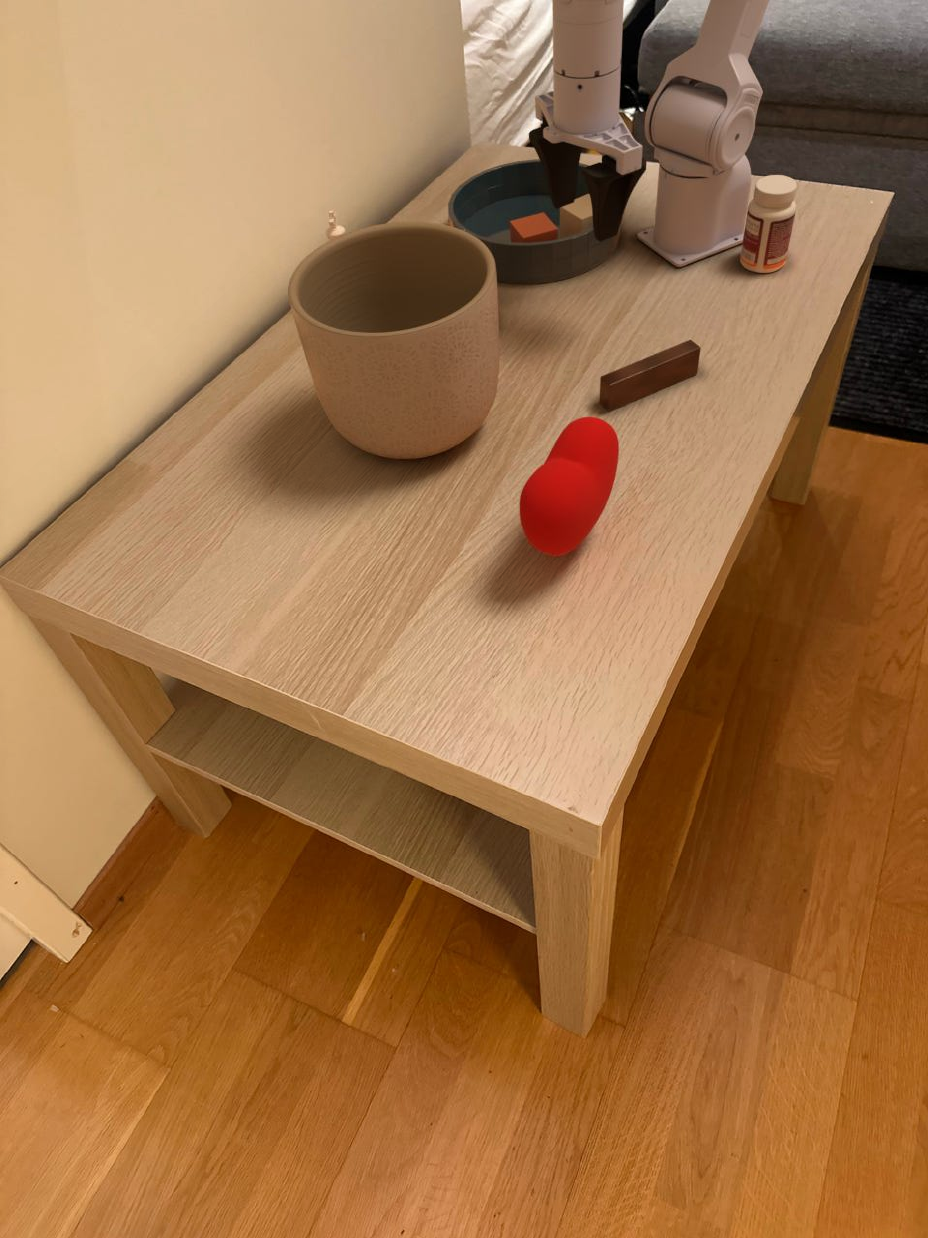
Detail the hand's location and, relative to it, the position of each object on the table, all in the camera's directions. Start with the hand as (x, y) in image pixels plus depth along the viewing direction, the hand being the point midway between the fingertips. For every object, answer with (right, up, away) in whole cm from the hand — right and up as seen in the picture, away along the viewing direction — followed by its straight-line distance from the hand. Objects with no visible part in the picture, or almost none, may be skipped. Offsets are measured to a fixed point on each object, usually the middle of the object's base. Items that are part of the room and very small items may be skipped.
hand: (584, 220), depth 86 cm
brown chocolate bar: (+6, -17, -2) cm, 18 cm away
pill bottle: (+20, 0, +10) cm, 23 cm away
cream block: (+2, +4, +14) cm, 15 cm away
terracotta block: (-4, +1, +13) cm, 13 cm away
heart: (-3, -32, -13) cm, 35 cm away
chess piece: (-24, -4, +12) cm, 27 cm away
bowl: (-3, +5, +17) cm, 18 cm away
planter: (-16, -20, -2) cm, 26 cm away
